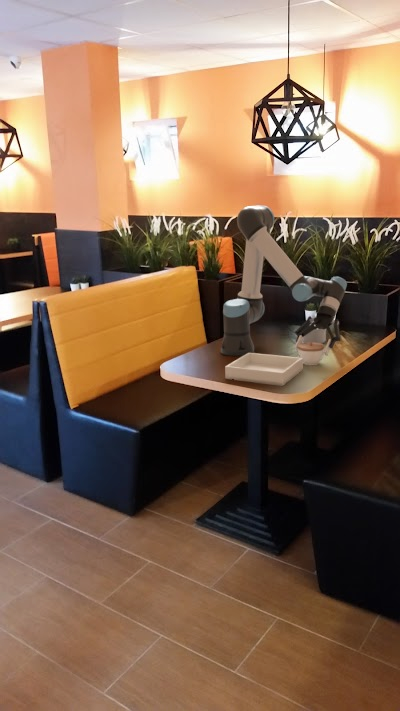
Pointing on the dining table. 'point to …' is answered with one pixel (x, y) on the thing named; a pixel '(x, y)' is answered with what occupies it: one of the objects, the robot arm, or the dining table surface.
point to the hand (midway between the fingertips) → (310, 351)
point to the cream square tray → (264, 368)
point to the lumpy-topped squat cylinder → (315, 336)
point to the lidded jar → (311, 353)
